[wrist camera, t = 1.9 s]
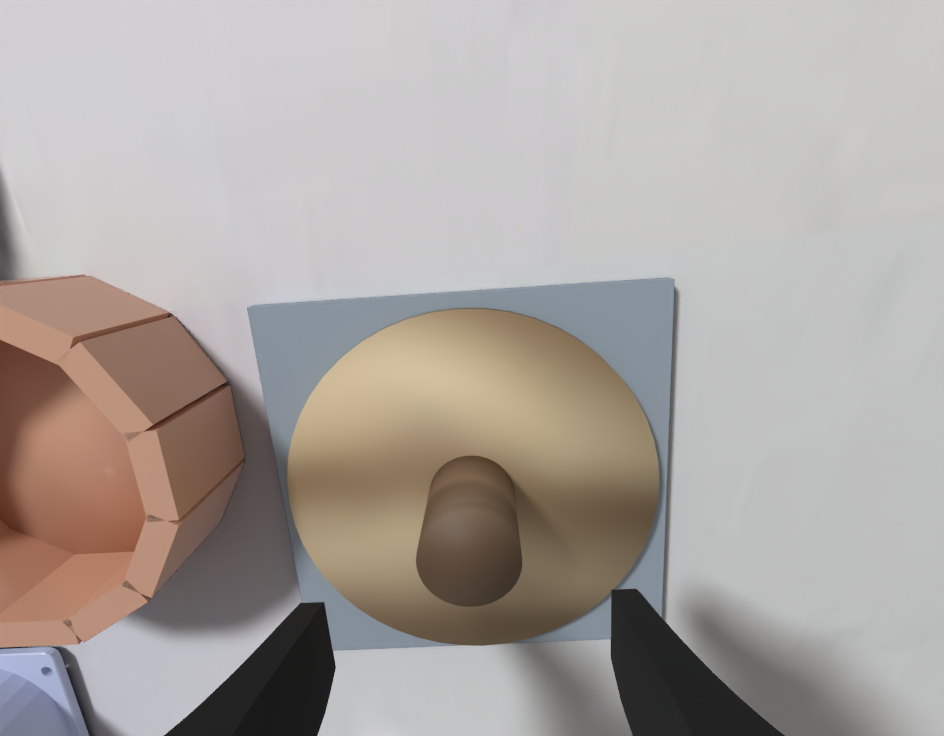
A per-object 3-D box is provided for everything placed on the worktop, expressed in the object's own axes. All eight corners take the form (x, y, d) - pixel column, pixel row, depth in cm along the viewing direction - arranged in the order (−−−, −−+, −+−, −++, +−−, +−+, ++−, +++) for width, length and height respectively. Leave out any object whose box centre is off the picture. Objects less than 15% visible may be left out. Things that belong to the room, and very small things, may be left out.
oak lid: (649, 627, 21) (694, 733, 17) (321, 641, 22) (280, 747, 17) (659, 294, 17) (720, 316, 13) (263, 320, 18) (190, 350, 13)
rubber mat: (655, 626, 22) (661, 636, 21) (315, 640, 22) (311, 651, 22) (668, 277, 18) (674, 279, 17) (254, 304, 18) (246, 307, 18)
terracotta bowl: (264, 554, 21) (208, 638, 17) (-9, 568, 21) (-133, 653, 17) (205, 266, 18) (117, 277, 14) (-114, 288, 18) (-298, 306, 14)
